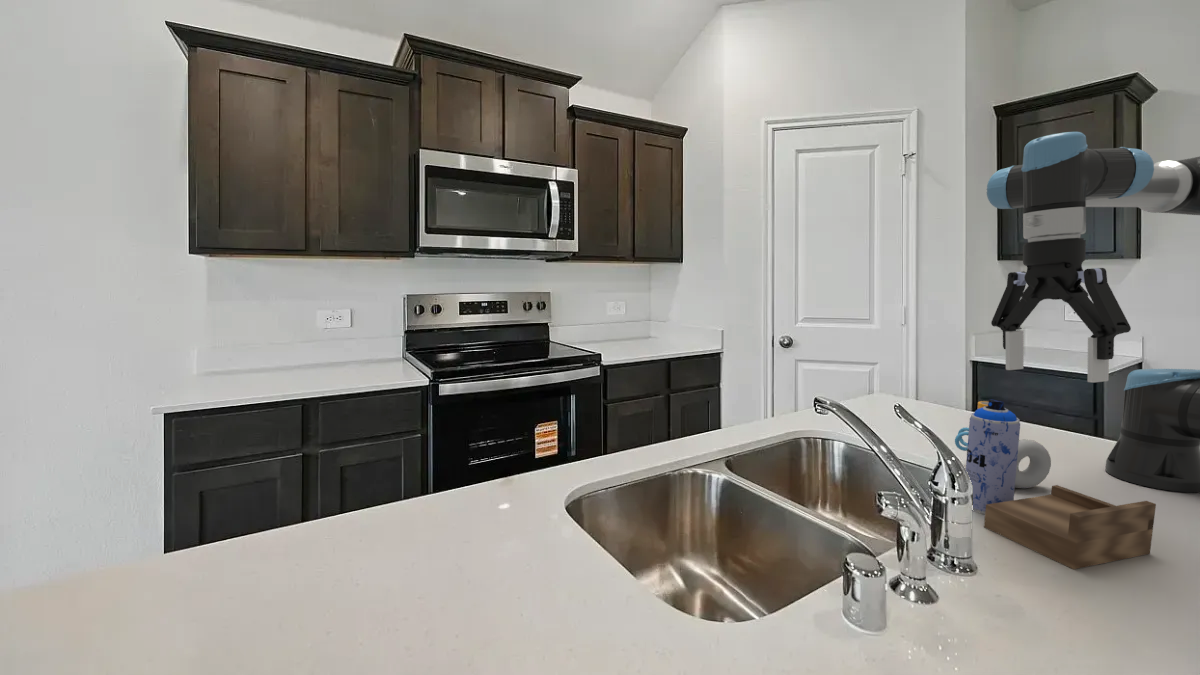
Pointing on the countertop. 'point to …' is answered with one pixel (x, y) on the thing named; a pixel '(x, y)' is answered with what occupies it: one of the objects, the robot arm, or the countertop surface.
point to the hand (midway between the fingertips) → (1053, 375)
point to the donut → (1032, 464)
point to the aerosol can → (992, 454)
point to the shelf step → (1075, 527)
